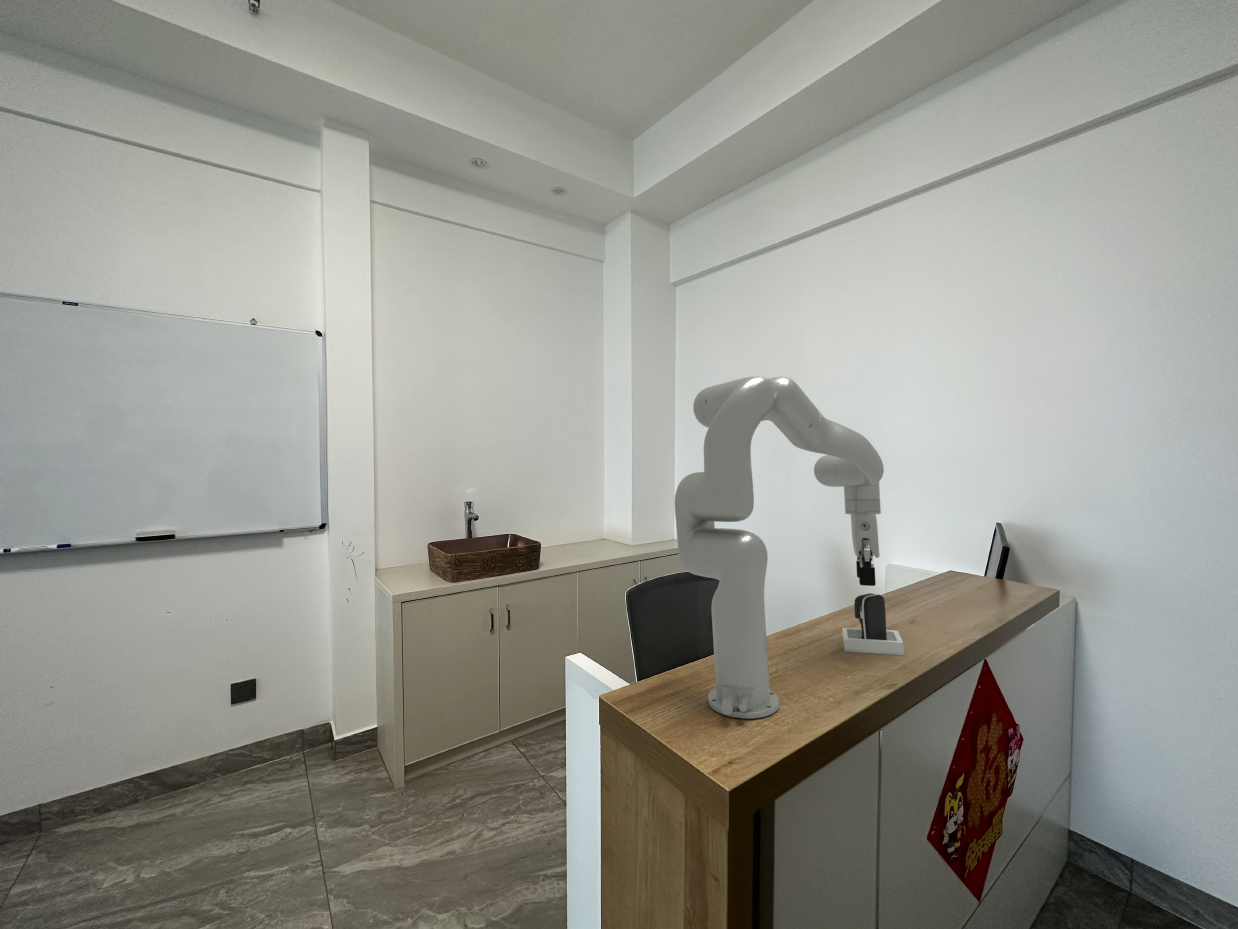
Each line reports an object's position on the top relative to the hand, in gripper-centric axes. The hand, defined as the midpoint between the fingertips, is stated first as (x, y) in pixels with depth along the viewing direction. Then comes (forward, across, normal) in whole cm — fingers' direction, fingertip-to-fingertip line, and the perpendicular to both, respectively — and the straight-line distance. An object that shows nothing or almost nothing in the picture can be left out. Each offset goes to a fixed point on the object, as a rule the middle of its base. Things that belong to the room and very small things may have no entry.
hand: (865, 581), depth 118 cm
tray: (+15, +1, -1) cm, 15 cm away
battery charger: (+15, +1, -1) cm, 15 cm away
